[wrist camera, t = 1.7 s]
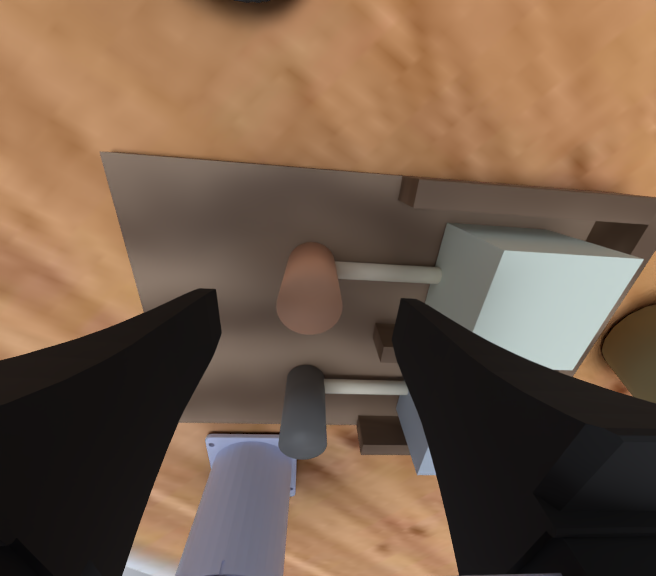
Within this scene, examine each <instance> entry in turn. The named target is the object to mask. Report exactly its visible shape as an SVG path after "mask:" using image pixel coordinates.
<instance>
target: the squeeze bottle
mask: <svg viewBox="0 0 656 576" xmlns="http://www.w3.org/2000/svg"><path fill="white" fill-rule="evenodd" d="M602 353H603V356H604V359H605V360H606V362H607V363H608V364H609V366H610V367H611V368H612V370H613V371H614V372H615V374H616V375H617V376H618V377H619V379H620V380H621V381H622V383H623V384H624V385H625V387H626V388H627V389H628V390H629V392H630V393H631V394H632V396H633V397H636V398H639V399H642V400H646V401H649V402H653V403H656V305H652V306H647V307H644V308H642V309H640V310H638V311H636V312H634V313H632V314H630V315H628V316H627V317H626V318H624V319H623V320H622V321H621V322H619V323H618V324H617V325H616V326H615V327H614V328H613V329H612V330H611V332H610V333H609V334H608V336H607V337H606V338H605V340H604V344H603V348H602Z"/></svg>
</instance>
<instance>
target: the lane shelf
mask: <svg viewBox="0 0 656 576" xmlns="http://www.w3.org/2000/svg"><path fill="white" fill-rule="evenodd" d="M100 155H101V159H102V163H103V166H104V170H105V173H106V177H107V181H108V184H109V188H110V192H111V195H112V199H113V202H114V206H115V210H116V213H117V217H118V220H119V224H120V228H121V231H122V235H123V239H124V242H125V246H126V249H127V253H128V257H129V260H130V264H131V267H132V271H133V275H134V278H135V282H136V286H137V289H138V293H139V296H140V300H141V304H142V307H143V311H144V313H145V312H147V311H149V310H151V309H154V308H156V307H158V306H160V305H162V304H164V303H166V302H169V301H171V300H173V299H175V298H177V297H179V296H181V295H184V294H186V293H188V292H191V291H193V290H196V289H199V288H205V289H216V292H217V300H218V307H219V315H220V323H221V330H222V334H221V337H220V340H219V343H218V346H217V348H216V351H215V353H214V356H213V358H212V360H211V362H210V364H209V365H208V367H207V369H206V371H205V373H204V375H203V377H202V378H201V380H200V382H199V384H198V386H197V388H196V389H195V391H194V393H193V395H192V397H191V399H190V400H189V402H188V404H187V406H186V408H185V410H184V412H183V414H182V416H181V418H180V420H179V422H181V423H252V424H281V420H282V412H283V405H284V398H285V390H286V383H287V376H288V374H289V372H290V371H291V370H292V369H294V368H295V367H298V366H301V365H310V366H314V367H316V368H318V369H319V370H321V371H322V373H323V374H324V379H350V380H389V381H404V378H403V376H402V373H401V371H400V368H399V365H398V363H397V360H396V356H395V352H394V348H393V344H392V335H393V331H394V326H395V322H396V318H397V313H398V309H399V304H400V300H401V298H411V299H418V300H420V301H422V302H424V303H425V301H426V298H427V294H428V290H429V287H430V284H427V283H408V282H389V281H370V280H351V279H338V281H339V287H340V293H341V298H342V305H343V307H342V314H341V316H340V318H339V320H338V322H337V323H336V324H335V325H334V326H333V327H332V328H330V329H329V330H327V331H325V332H323V333H320V334H314V335H305V334H300V333H297V332H294V331H292V330H290V329H289V328H287V327H286V326H285V325H284V324H283V323H282V321H281V320H280V318H279V316H278V314H277V310H276V302H277V298H278V294H279V291H280V287H281V284H282V280H283V277H284V273H285V270H286V266H287V262H288V259H289V256H290V254H291V252H292V251H293V250H294V249H295V248H296V247H297V246H299V245H300V244H303V243H306V242H316V243H320V244H322V245H324V246H325V247H327V248H328V249H329V250H330V251H331V253H332V254H333V256H334V260H335V261H339V262H356V263H374V264H391V265H409V266H426V267H435V265H436V261H437V258H438V254H439V250H440V247H441V243H442V239H443V236H444V232H445V228H446V225H447V223H459V224H474V225H488V226H502V227H517V228H531V229H546V230H550V231H553V232H556V233H560V234H563V235H566V236H570V237H573V238H576V239H580V240H583V241H586V242H589V243H593V244H596V245H599V246H603V247H606V248H609V249H612V250H616V251H619V252H622V253H626V254H629V255H632V256H635V257H639V258H642V259H644V260H643V262H642V263H641V265H640V266H639V268H638V269H637V271H636V273H635V274H634V276H633V277H632V279H631V280H630V282H629V283H628V285H627V287H626V288H625V290H624V291H623V293H622V294H621V296H620V297H619V299H618V300H617V302H616V304H615V305H614V307H613V308H612V310H611V311H610V313H609V314H608V316H607V318H606V319H605V321H604V322H603V324H602V325H601V327H600V328H599V330H598V332H597V333H596V335H595V336H594V338H593V339H592V341H591V342H590V344H589V345H588V347H587V349H586V350H585V352H584V353H583V355H582V356H581V358H580V359H579V361H578V363H577V364H576V366H575V367H574V369H573V370H555V371H557V372H560V373H563V374H566V375H568V376H571V377H573V376H574V374H575V373H576V371H577V369H578V368H579V366H580V365H581V363H582V362H583V360H584V359H585V357H586V356H587V354H588V353H589V351H590V350H591V348H592V347H593V345H594V344H595V342H596V340H597V339H598V337H599V336H600V334H601V333H602V331H603V330H604V328H605V327H606V325H607V324H608V322H609V321H610V319H611V318H612V316H613V315H614V313H615V311H616V310H617V308H618V307H619V305H620V304H621V302H622V301H623V299H624V298H625V296H626V295H627V293H628V292H629V290H630V289H631V287H632V286H633V284H634V282H635V281H636V279H637V278H638V276H639V275H640V273H641V272H642V270H643V269H644V267H645V266H646V264H647V263H648V261H649V260H650V258H651V256H652V255H653V253H654V252H655V250H656V197H648V196H639V195H630V194H621V193H611V192H598V191H586V190H574V189H561V188H549V187H537V186H524V185H512V184H500V183H487V182H475V181H463V180H450V179H438V178H426V177H413V176H401V175H388V174H376V173H364V172H351V171H339V170H327V169H314V168H302V167H290V166H277V165H265V164H253V163H240V162H228V161H216V160H203V159H191V158H179V157H166V156H154V155H142V154H129V153H117V152H100ZM399 396H400V395H375V394H329V393H325V407H326V425H357V432H358V439H359V445H360V452H361V455H411V454H410V451H409V448H408V445H407V442H406V439H405V435H404V432H403V429H402V426H401V423H400V420H399V417H398V413H397V410H396V407H397V403H398V400H399Z"/></svg>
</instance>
